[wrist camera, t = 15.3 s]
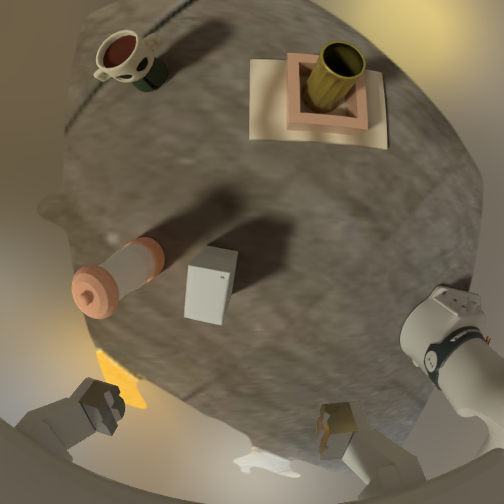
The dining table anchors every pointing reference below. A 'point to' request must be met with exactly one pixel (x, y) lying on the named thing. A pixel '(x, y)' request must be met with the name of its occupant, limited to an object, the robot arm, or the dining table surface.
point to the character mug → (131, 60)
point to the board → (274, 108)
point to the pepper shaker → (116, 277)
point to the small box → (210, 284)
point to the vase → (333, 76)
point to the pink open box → (321, 122)
